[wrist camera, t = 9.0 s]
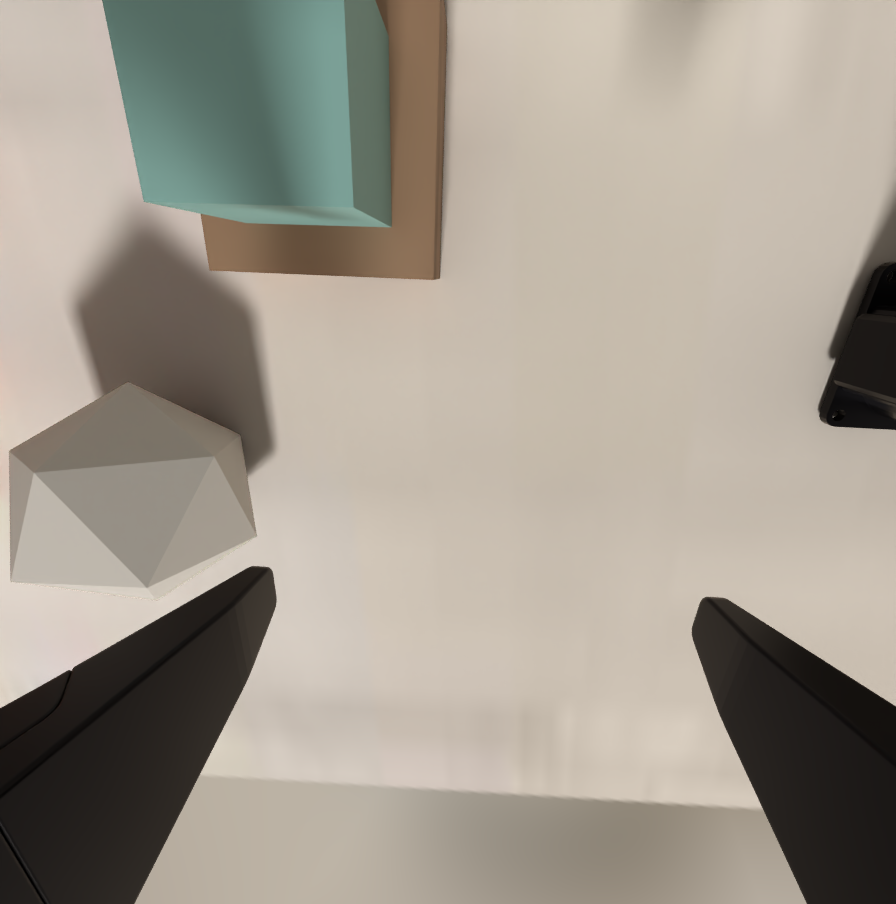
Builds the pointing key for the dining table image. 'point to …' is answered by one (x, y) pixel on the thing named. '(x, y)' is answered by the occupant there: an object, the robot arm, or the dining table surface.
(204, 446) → the die
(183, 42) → the teal cube
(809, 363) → the dining table surface
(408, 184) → the walnut base
